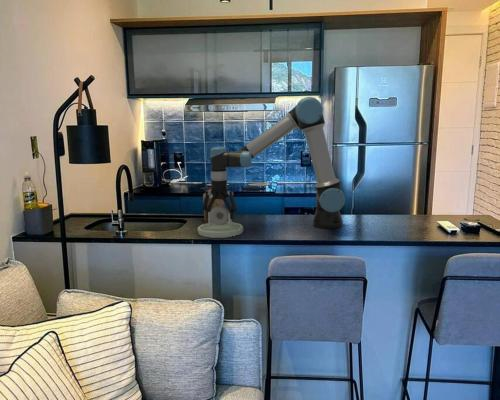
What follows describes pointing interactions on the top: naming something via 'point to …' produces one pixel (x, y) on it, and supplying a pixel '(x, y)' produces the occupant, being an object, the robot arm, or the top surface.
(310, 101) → the robot arm
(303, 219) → the top surface
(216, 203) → the milk carton
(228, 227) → the plate
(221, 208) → the donut
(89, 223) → the top surface
